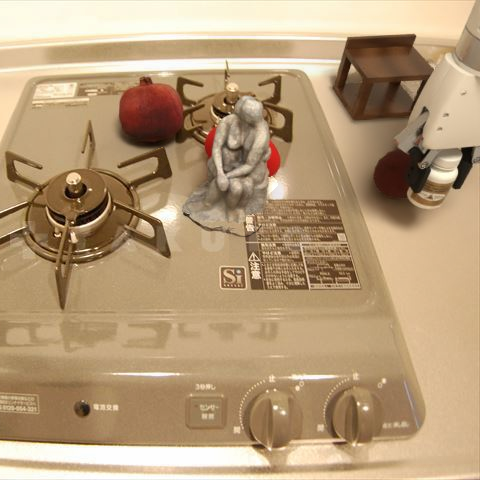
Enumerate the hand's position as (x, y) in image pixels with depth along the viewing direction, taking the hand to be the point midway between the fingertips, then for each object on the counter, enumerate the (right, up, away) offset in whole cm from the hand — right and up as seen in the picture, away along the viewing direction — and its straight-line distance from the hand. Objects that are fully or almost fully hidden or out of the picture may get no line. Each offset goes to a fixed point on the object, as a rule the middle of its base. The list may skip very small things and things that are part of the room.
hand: (431, 182), depth 69 cm
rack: (+4, +17, +28) cm, 33 cm away
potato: (0, 0, +12) cm, 12 cm away
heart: (-23, +8, +6) cm, 25 cm away
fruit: (-35, +8, +18) cm, 40 cm away
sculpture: (-30, +2, +1) cm, 30 cm away
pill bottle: (0, -2, +2) cm, 3 cm away
